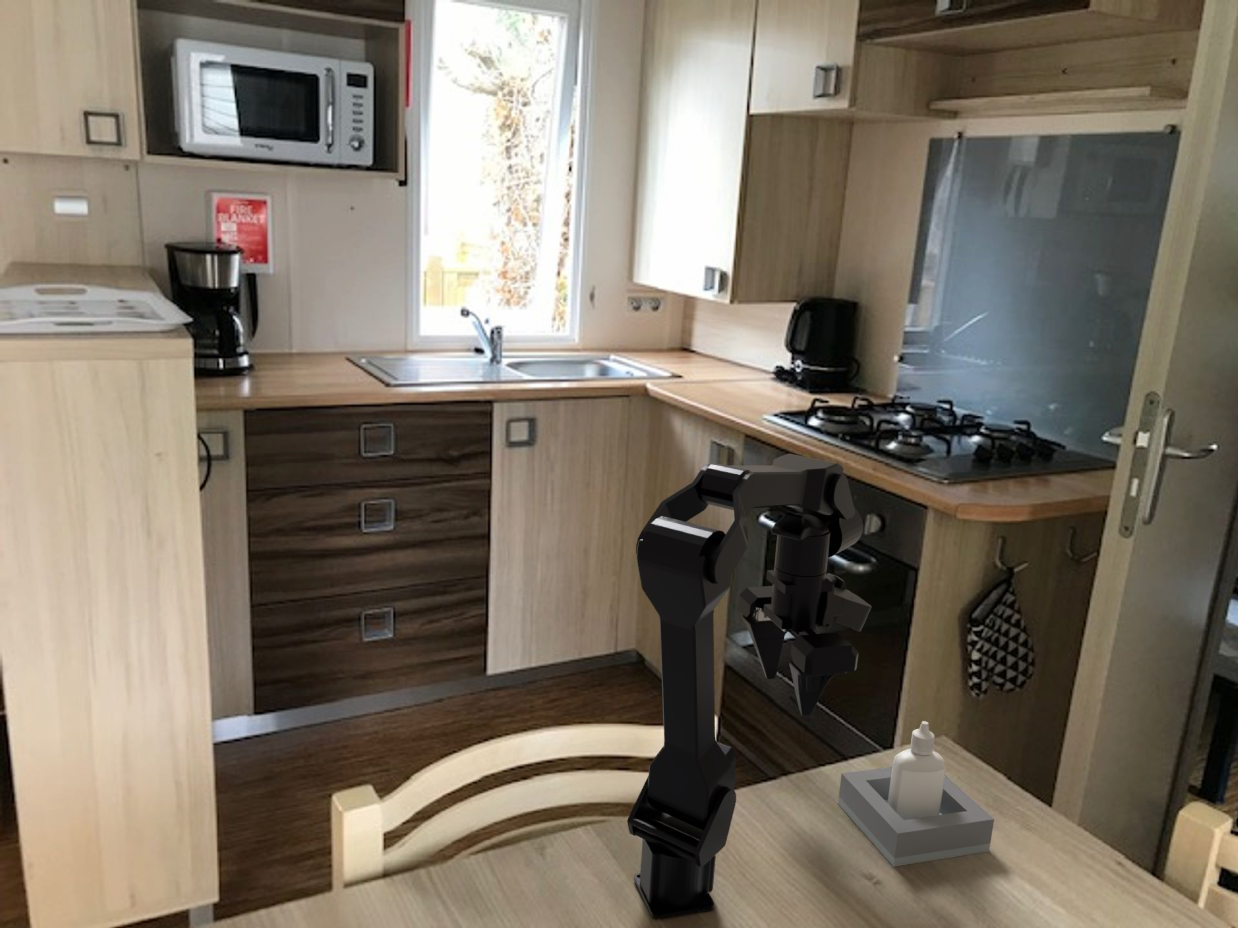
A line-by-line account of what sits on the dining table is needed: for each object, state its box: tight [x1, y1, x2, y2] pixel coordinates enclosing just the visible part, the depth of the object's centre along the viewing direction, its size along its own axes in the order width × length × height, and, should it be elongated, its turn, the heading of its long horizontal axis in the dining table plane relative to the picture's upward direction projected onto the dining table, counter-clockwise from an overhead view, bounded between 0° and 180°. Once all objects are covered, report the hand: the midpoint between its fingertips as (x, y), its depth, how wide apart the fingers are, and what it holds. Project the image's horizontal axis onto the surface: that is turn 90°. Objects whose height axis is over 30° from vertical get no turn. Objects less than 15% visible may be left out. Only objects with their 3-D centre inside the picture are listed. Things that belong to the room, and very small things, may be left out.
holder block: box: [837, 766, 995, 867], centre depth 114 cm, size 12×12×4 cm
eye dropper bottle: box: [888, 720, 947, 820], centre depth 113 cm, size 4×6×12 cm
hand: (787, 696), depth 116 cm, fingers open, 9 cm apart
